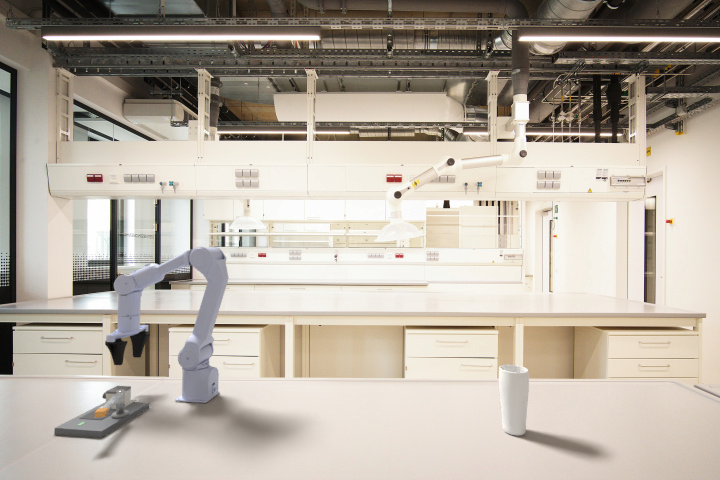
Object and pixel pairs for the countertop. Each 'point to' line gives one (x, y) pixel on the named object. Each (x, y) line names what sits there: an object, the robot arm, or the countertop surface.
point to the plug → (113, 391)
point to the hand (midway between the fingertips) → (128, 360)
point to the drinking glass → (513, 398)
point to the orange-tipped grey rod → (120, 404)
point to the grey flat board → (100, 421)
